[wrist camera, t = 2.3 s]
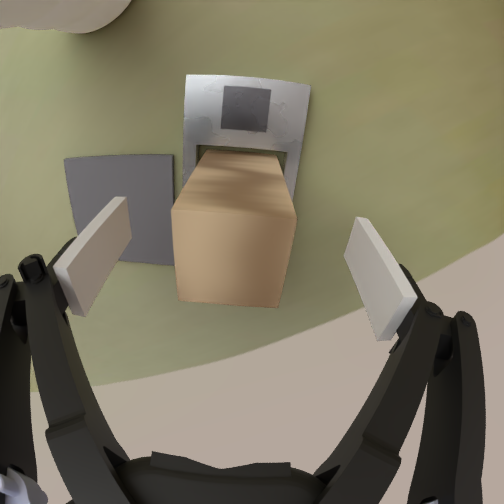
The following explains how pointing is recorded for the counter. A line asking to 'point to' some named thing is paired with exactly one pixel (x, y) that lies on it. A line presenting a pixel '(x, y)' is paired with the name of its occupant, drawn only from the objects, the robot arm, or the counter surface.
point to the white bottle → (60, 14)
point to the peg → (233, 230)
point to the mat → (138, 199)
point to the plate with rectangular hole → (245, 118)
